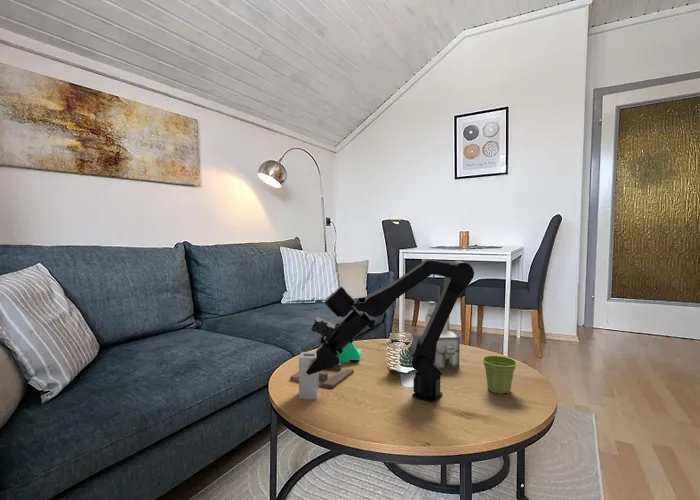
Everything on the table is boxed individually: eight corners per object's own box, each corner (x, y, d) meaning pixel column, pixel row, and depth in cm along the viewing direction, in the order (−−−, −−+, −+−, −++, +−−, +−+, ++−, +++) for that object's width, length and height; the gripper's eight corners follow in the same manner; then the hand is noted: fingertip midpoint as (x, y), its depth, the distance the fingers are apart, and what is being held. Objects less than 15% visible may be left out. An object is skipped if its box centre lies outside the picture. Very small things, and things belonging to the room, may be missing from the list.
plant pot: (485, 381, 118) (485, 353, 117) (518, 387, 113) (519, 358, 113) (478, 392, 110) (479, 362, 109) (514, 399, 105) (514, 368, 105)
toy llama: (440, 370, 127) (440, 310, 126) (424, 353, 145) (425, 300, 144) (462, 369, 128) (463, 309, 127) (444, 352, 145) (445, 300, 144)
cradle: (353, 372, 125) (353, 363, 125) (333, 388, 112) (333, 378, 112) (313, 365, 131) (313, 356, 131) (290, 379, 119) (290, 370, 119)
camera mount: (361, 356, 142) (361, 328, 141) (359, 363, 134) (359, 334, 134) (329, 355, 143) (329, 327, 143) (325, 362, 136) (325, 333, 135)
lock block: (319, 391, 110) (318, 351, 110) (317, 399, 105) (317, 357, 105) (301, 391, 110) (301, 351, 110) (299, 399, 105) (298, 357, 105)
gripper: (330, 302, 116) (294, 337, 116) (326, 315, 97) (282, 358, 98) (356, 328, 116) (320, 363, 117) (357, 346, 97) (313, 389, 98)
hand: (309, 367), depth 107 cm, fingers open, 9 cm apart
